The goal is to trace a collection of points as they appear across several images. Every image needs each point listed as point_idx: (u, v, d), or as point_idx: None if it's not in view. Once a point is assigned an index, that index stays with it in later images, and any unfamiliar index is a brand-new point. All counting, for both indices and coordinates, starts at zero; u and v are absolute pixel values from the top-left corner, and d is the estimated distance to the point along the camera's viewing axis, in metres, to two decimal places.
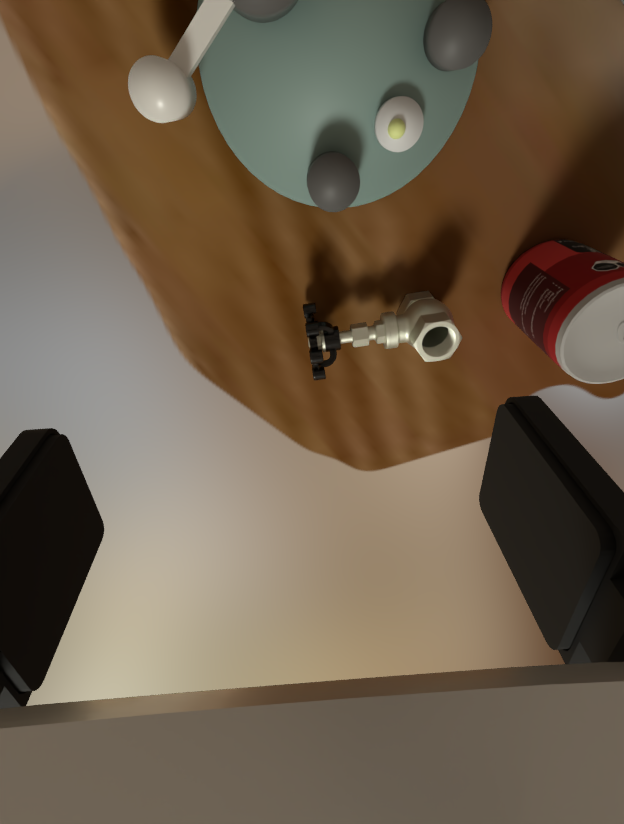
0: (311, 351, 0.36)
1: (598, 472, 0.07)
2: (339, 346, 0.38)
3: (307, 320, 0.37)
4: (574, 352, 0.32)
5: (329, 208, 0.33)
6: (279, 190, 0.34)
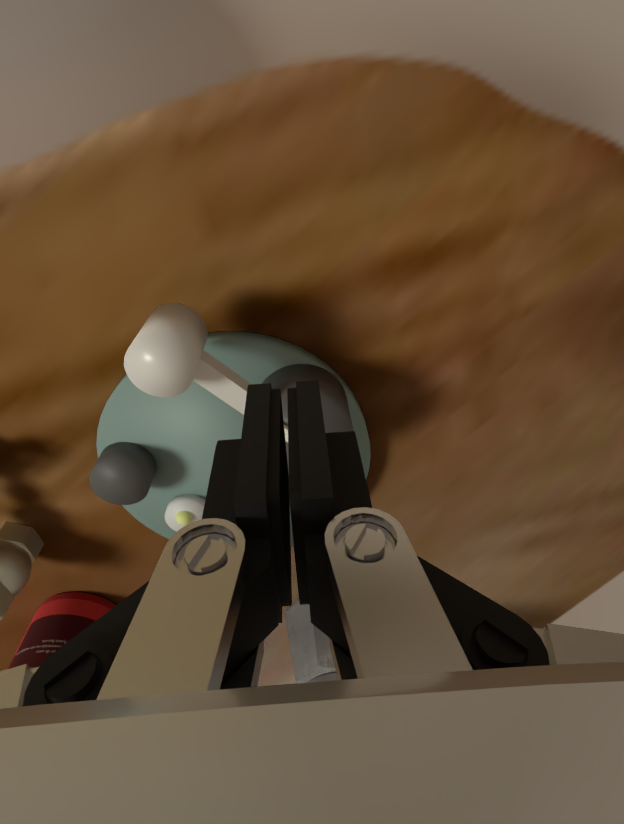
0: None
1: (320, 444, 0.08)
2: None
3: None
4: None
5: (92, 481, 0.29)
6: (104, 416, 0.29)
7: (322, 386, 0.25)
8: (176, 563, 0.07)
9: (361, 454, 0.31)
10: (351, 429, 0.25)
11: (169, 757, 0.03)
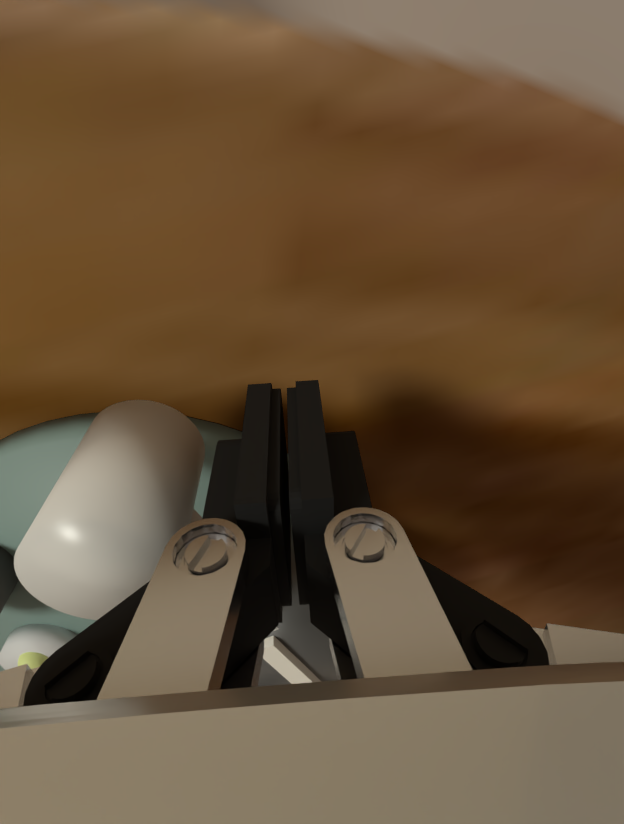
0: None
1: (320, 444, 0.08)
2: None
3: None
4: None
5: None
6: None
7: None
8: (176, 563, 0.07)
9: None
10: None
11: (169, 757, 0.03)
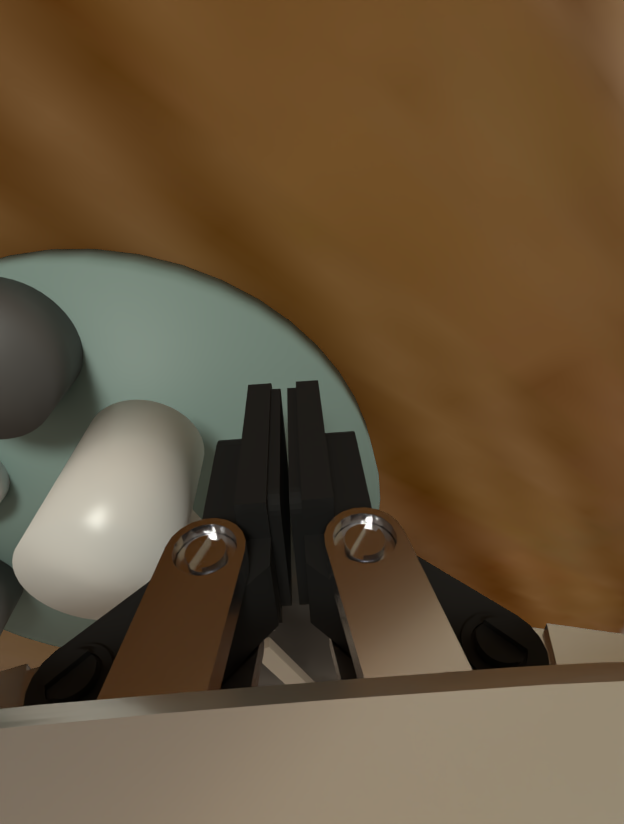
0: None
1: (320, 444, 0.08)
2: None
3: None
4: None
5: None
6: (128, 278, 0.12)
7: None
8: (176, 563, 0.07)
9: None
10: None
11: (169, 757, 0.03)
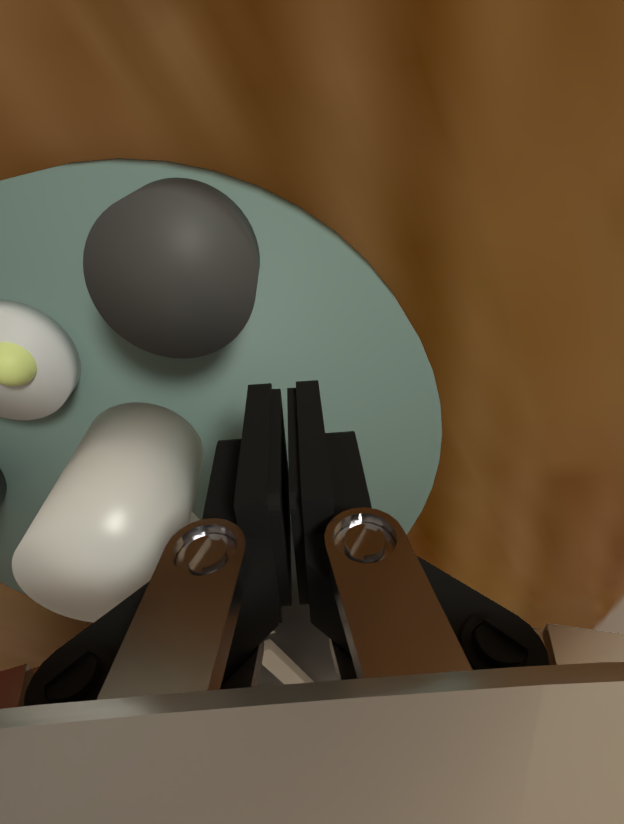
0: None
1: (320, 444, 0.08)
2: None
3: None
4: None
5: (187, 207, 0.09)
6: (340, 254, 0.12)
7: None
8: (176, 563, 0.07)
9: None
10: None
11: (169, 757, 0.03)
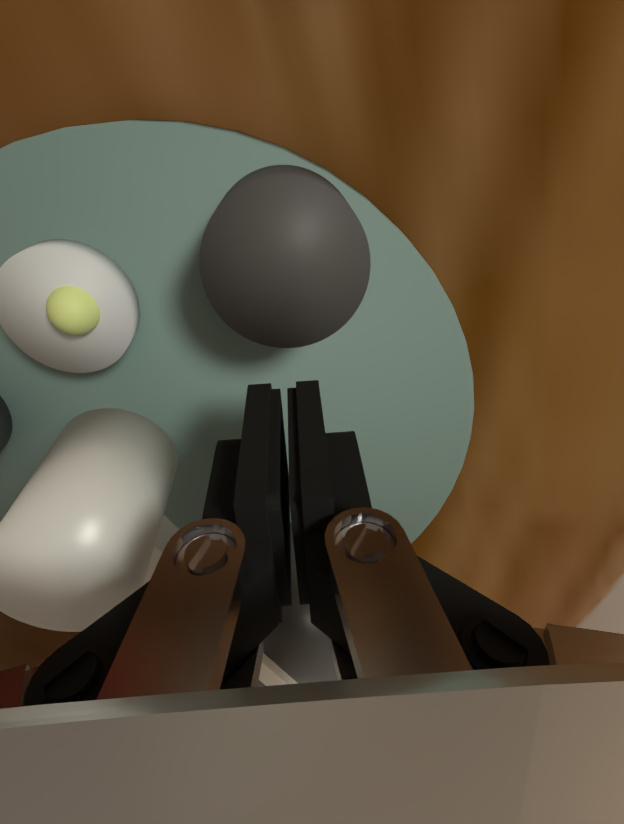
0: None
1: (320, 444, 0.08)
2: None
3: None
4: None
5: (328, 202, 0.09)
6: (429, 279, 0.12)
7: None
8: (176, 563, 0.07)
9: None
10: None
11: (169, 757, 0.03)
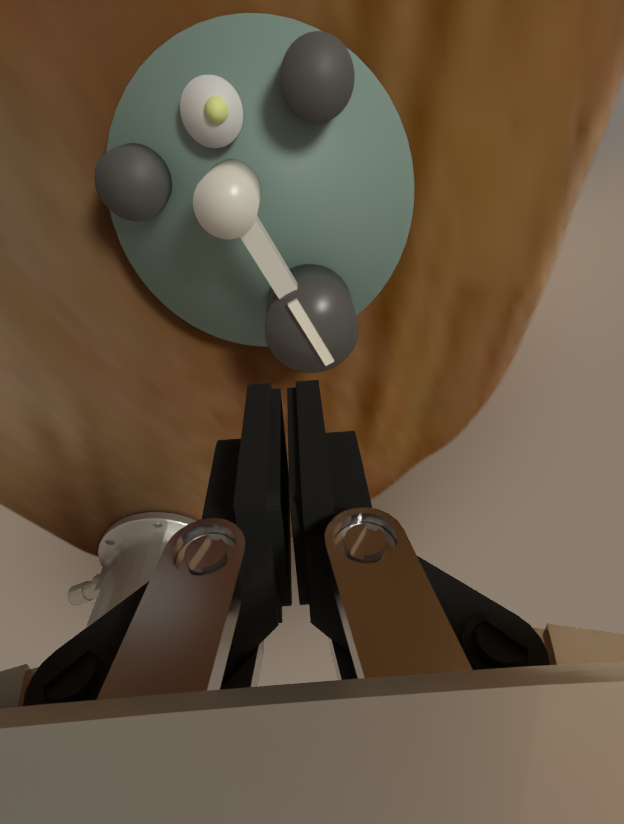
0: None
1: (320, 444, 0.08)
2: None
3: None
4: None
5: (336, 44, 0.22)
6: (385, 98, 0.25)
7: (342, 288, 0.28)
8: (176, 563, 0.07)
9: (230, 333, 0.32)
10: (357, 331, 0.28)
11: (169, 757, 0.03)
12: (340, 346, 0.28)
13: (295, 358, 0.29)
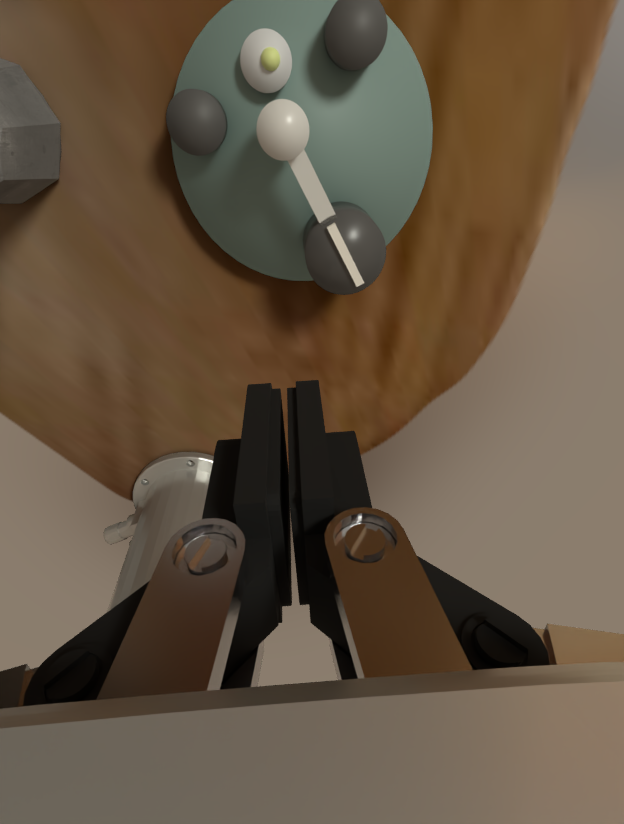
0: None
1: (320, 444, 0.08)
2: None
3: None
4: None
5: (373, 1, 0.27)
6: (410, 53, 0.29)
7: None
8: (176, 563, 0.07)
9: (269, 268, 0.36)
10: (384, 254, 0.32)
11: (169, 757, 0.03)
12: (369, 269, 0.33)
13: (330, 280, 0.33)
